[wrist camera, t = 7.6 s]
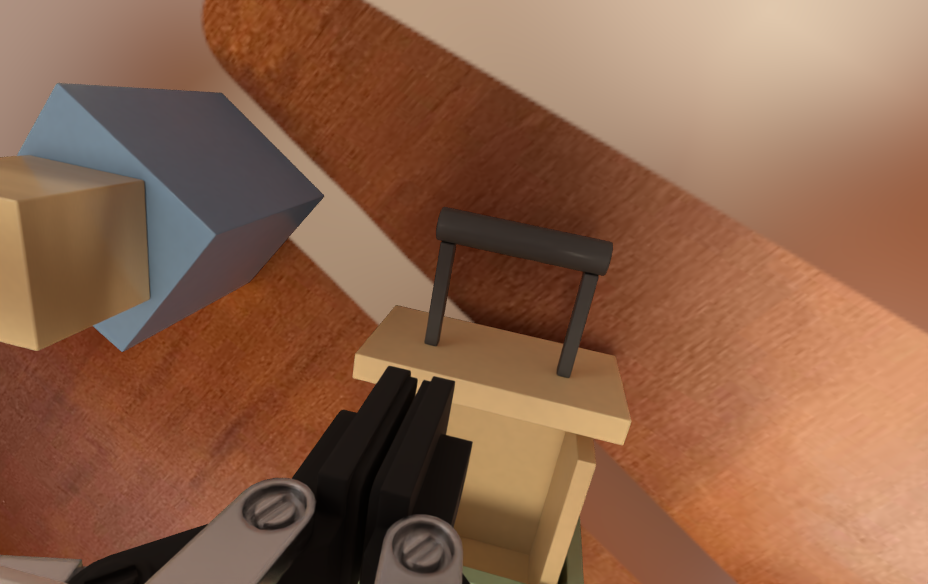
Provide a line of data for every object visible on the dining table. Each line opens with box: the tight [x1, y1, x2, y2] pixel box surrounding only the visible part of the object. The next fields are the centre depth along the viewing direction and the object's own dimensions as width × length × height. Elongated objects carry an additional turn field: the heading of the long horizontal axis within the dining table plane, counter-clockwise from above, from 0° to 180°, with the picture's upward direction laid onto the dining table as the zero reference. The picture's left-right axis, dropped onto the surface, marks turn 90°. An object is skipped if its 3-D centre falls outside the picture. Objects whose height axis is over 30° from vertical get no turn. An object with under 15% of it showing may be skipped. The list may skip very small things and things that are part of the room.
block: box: [0, 155, 150, 351], centre depth 16 cm, size 4×4×4 cm
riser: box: [17, 83, 324, 352], centre depth 23 cm, size 7×7×9 cm
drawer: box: [353, 207, 631, 584], centre depth 24 cm, size 20×11×6 cm, turn 170°
